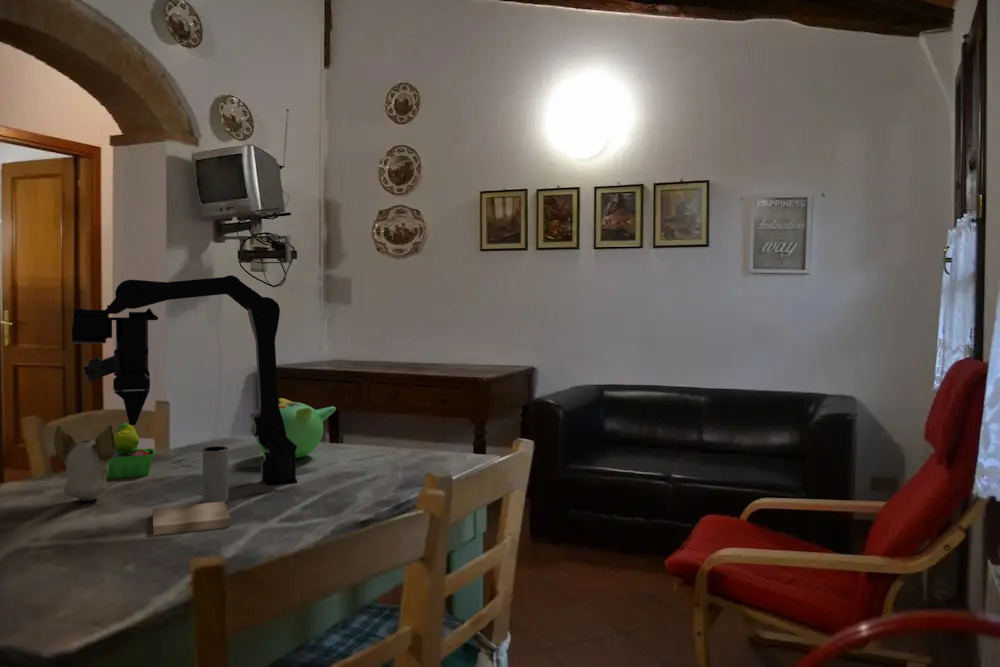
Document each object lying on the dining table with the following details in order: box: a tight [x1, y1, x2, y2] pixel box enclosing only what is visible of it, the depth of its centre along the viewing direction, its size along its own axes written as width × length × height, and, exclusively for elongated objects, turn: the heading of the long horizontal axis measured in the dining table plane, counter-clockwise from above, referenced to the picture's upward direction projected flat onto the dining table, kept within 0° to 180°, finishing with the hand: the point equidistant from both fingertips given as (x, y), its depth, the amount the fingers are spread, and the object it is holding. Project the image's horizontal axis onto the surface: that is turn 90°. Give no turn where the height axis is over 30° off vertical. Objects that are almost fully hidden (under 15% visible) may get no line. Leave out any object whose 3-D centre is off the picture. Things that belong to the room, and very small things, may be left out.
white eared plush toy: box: [53, 424, 116, 502], centre depth 142 cm, size 11×9×15 cm
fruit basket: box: [106, 422, 156, 479], centre depth 164 cm, size 11×9×11 cm
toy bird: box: [254, 397, 337, 459], centre depth 184 cm, size 18×17×15 cm
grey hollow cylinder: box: [202, 445, 229, 503], centre depth 143 cm, size 4×4×10 cm
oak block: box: [152, 501, 232, 536], centre depth 130 cm, size 12×12×2 cm
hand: (132, 421), depth 148 cm, fingers open, 9 cm apart
